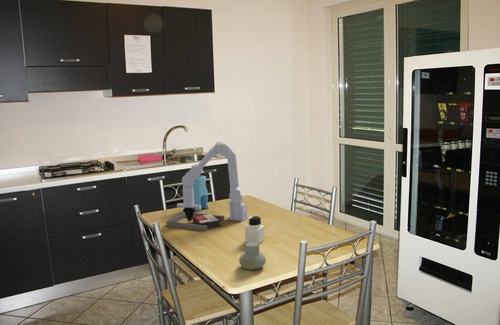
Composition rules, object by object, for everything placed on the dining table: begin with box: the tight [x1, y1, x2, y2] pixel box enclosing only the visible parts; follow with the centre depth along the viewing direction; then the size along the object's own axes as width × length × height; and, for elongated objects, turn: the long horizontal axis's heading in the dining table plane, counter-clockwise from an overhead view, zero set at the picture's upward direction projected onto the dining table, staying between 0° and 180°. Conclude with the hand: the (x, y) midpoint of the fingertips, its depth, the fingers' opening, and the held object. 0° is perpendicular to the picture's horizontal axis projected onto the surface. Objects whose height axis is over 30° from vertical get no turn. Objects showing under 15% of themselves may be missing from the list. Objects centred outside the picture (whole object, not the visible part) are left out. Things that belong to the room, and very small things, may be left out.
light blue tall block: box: [193, 175, 210, 213], centre depth 278 cm, size 8×8×20 cm
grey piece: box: [165, 212, 225, 232], centre depth 252 cm, size 25×20×2 cm
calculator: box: [192, 213, 221, 230], centre depth 249 cm, size 11×4×15 cm
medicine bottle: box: [244, 215, 265, 245], centre depth 220 cm, size 7×7×12 cm
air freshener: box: [238, 242, 267, 271], centre depth 189 cm, size 11×8×10 cm
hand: (189, 220), depth 253 cm, fingers closed
